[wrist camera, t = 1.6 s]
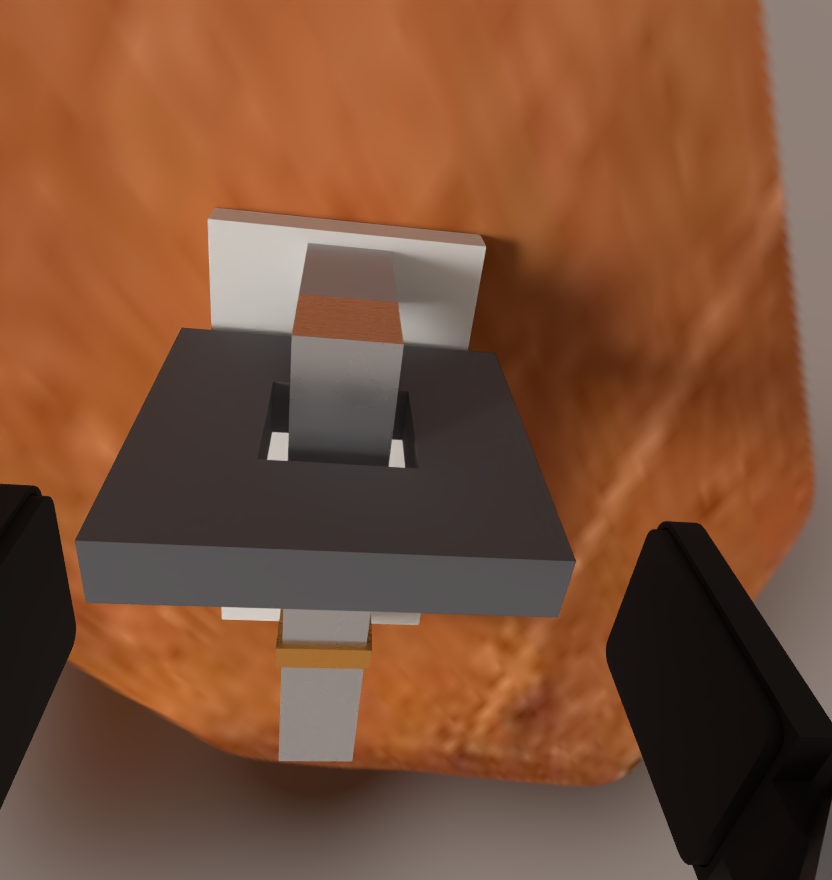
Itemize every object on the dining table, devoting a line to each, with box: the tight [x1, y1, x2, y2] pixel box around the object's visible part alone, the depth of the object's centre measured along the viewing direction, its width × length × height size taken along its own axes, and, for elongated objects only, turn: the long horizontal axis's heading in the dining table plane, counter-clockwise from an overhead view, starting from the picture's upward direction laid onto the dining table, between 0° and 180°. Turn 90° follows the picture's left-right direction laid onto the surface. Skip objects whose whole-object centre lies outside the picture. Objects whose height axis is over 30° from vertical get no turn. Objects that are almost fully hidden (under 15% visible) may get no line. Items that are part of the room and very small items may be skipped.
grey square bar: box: [276, 294, 404, 761], centre depth 25 cm, size 19×3×3 cm, turn 173°
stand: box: [208, 208, 486, 625], centre depth 29 cm, size 20×10×6 cm, turn 173°
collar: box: [75, 328, 576, 617], centre depth 22 cm, size 2×12×12 cm, turn 83°
